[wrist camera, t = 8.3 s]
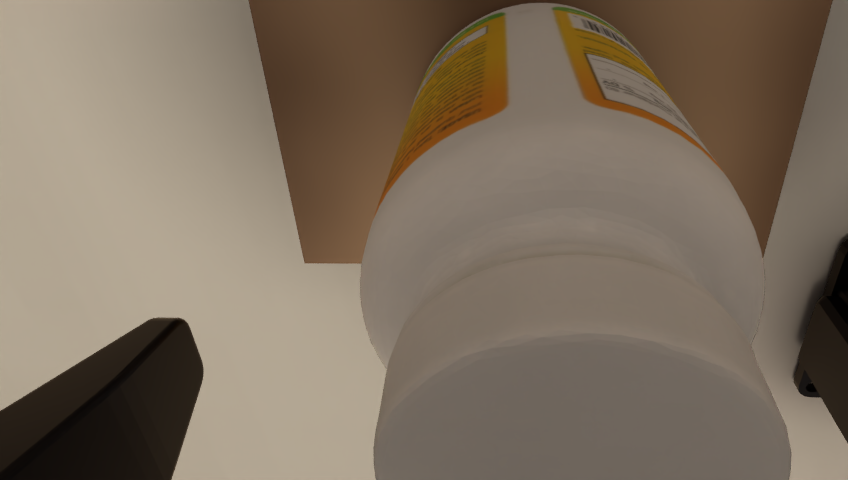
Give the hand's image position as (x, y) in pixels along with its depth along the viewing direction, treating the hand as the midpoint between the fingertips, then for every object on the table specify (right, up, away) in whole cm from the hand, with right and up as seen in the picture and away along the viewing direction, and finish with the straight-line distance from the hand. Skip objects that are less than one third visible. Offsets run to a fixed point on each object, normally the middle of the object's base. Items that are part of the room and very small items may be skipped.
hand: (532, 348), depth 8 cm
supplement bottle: (+1, +4, +7) cm, 8 cm away
